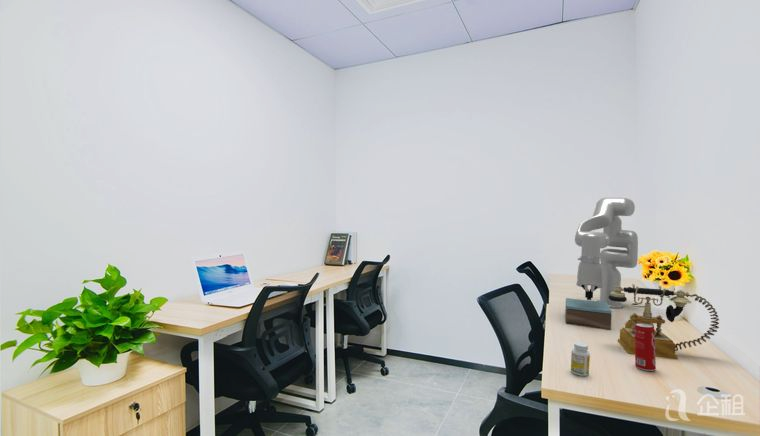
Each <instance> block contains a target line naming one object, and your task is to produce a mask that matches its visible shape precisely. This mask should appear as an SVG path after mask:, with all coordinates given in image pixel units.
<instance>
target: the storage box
mask: <svg viewBox="0 0 760 436" xmlns="http://www.w3.org/2000/svg"><path fill="white" fill-rule="evenodd" d="M564 310H565V311H564V312H565V313H564V314H565V315H564V316H565V324H566V325H572V326H579V327H587V328H593V329H601V330H607V331H611V330H612V315H613V314H608V313H600V312H592V311H583V310H575V309H567V307H566V306H565V309H564Z"/></svg>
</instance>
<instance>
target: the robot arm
mask: <svg viewBox="0 0 760 436" xmlns="http://www.w3.org/2000/svg"><path fill="white" fill-rule="evenodd" d="M635 209H636V206H635V203H634V201H633V200H632V199H630V198H627V197H603V198H600V199H599V200H598V201H597V202H596V205H595V208H594V211H593V214H592V216H590V217H588V218H587V219H585V220H583V221H582V222H580V224H579V225H578V227H577V230H576V232H575V236H574V243H575V245H576V246H578V247H581V255H580V256H578V257H577V260H578V261H579V263H578V268H577V273H576V274H577V277H576V279H577V280H576V286H577V287H580V288H582V289H583V290H584V291H585V292H584V294H585V295H584V298H586V300H588V301H592V299H594V292H595V291H596V290H597V289H600V292H599V300H596V301H597V302H606V303H608V305H609V307H610V309H621V308H624V305H623V304H622V302H617V301H612V300H610V299H609V295H611V292H615V290H614V289H615V286H621V284H622V282H621V281H622V275H621V272H620V271H619V269H618V268H626V269H634V268H636V267H637V265H638V261H639V260H638V259H639V258H638V257H639V256H638V254H639V237H638V235H637V234H638V233H637V232H636V231H633V230H629V229H628V230H624V229H623V228H622V224H623V223H622V220H621V218H620V216H621V217H632V215H634V213H635ZM600 229H603V230H602V231H603V232H600V231H599V232H598V231H596V230H600ZM607 247H611V248H607ZM612 247H613V248H612ZM620 248H622V249H620ZM623 248H624V249H623ZM601 249H602V250H601ZM588 286H590V289H589V288H588ZM621 287H622V286H621Z"/></svg>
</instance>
